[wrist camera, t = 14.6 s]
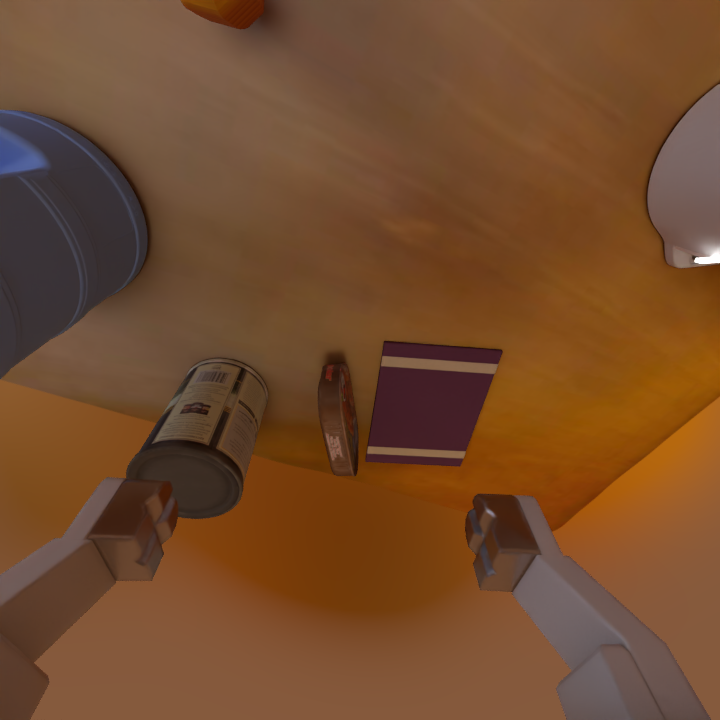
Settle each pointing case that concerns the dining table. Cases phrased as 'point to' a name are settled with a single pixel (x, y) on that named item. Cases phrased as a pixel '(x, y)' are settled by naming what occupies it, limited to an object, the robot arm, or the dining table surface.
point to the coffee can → (206, 438)
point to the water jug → (59, 231)
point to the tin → (338, 419)
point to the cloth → (428, 402)
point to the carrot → (227, 11)
